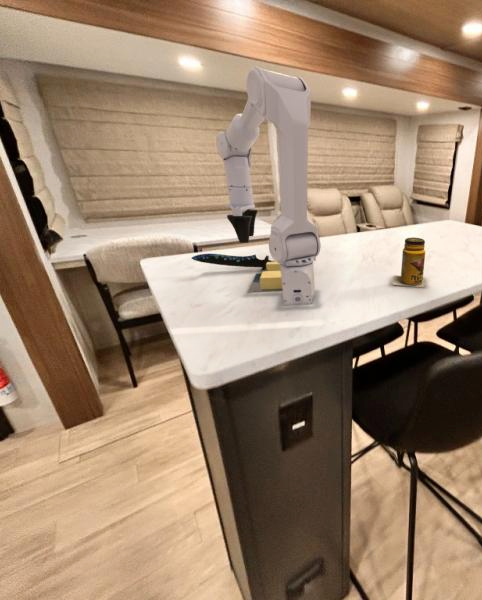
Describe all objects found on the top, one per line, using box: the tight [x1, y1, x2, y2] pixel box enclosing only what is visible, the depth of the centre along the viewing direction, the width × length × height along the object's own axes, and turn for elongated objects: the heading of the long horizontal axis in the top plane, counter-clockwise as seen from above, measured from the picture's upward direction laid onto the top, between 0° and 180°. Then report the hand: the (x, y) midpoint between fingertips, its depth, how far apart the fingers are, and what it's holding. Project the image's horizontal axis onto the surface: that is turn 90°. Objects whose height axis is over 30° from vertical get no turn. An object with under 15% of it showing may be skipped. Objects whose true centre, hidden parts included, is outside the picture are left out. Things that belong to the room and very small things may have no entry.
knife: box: [191, 253, 276, 272], centre depth 88 cm, size 31×3×4 cm, turn 97°
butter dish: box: [246, 272, 283, 294], centre depth 80 cm, size 14×12×1 cm
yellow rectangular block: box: [260, 270, 282, 290], centre depth 76 cm, size 5×6×3 cm
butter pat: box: [265, 262, 281, 271], centre depth 85 cm, size 2×6×3 cm, turn 102°
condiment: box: [392, 237, 426, 288], centre depth 83 cm, size 7×8×12 cm
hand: (247, 239), depth 84 cm, fingers open, 7 cm apart
